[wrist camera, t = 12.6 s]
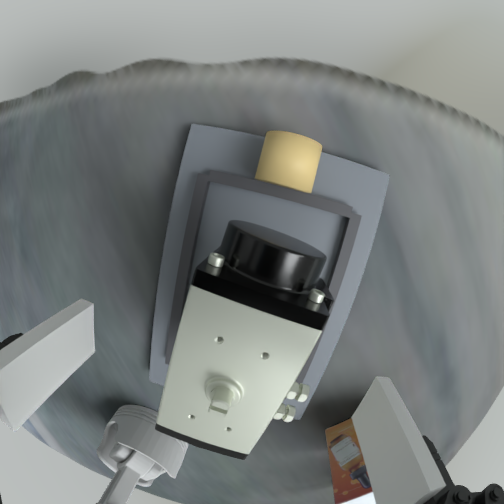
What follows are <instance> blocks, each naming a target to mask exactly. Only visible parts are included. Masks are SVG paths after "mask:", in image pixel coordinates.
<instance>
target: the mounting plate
mask: <svg viewBox="0 0 504 504" xmlns="http://www.w3.org/2000/svg"><path fill="white" fill-rule="evenodd" d="M321 151H322V145H321V144H320V143H318V142H316V141H315V140H313V139H310V138H308V137H305V136H302V135H299V134H295V133H291V132H285V131H268V132H267V133H266V136H265V137H263V136H258V135H254V134H249V133H244V132H239V131H234V130H229V129H223V128H217V127H211V126H205V125H198V124H191V128H190V132H189V135H188V139H187V142H186V146H185V150H184V154H183V158H182V162H181V166H180V170H179V174H178V178H177V183H176V187H175V192H174V196H173V201H172V206H171V211H170V216H169V221H168V226H167V231H166V237H165V243H164V248H163V254H162V261H161V267H160V274H159V281H158V288H157V296H156V304H155V313H154V322H153V333H152V344H151V358H150V374H149V381H151V382H153V383H156V384H159V385H162V386H164V384H165V380H166V376H167V372H168V367H169V363H170V359H171V355H172V351H173V347H174V343H175V340H176V336H177V332H178V328H179V324H180V321H181V317H182V313H183V310H184V306H185V303H186V299H187V296H188V292H189V289H190V285H191V282H192V278H193V275H194V272H195V268H196V267H197V266H198V265H199V264H200V263H201V262H202V261H204V260H205V259H206V258H207V257H208V256H209V255H210V253H213V252H214V251H215V250H216V249H217V248H219V247H220V246H221V243H222V240H223V237H224V234H225V231H226V228H227V225H228V222H229V221H230V220H241V221H246V222H250V223H254V224H257V225H261V226H264V227H267V228H270V229H273V230H276V231H278V232H281V233H284V234H286V235H289V236H291V237H294V238H296V239H298V240H301V241H303V242H305V243H307V244H309V245H311V246H313V247H315V248H316V249H318V250H320V251H321V252H323V253H324V254H325V255H326V257H327V260H326V263H325V265H324V268H323V270H322V272H321V275H320V277H319V278H322V279H323V280H324V282H325V284H326V286H327V287H328V289H329V291H330V293H331V295H332V296H333V298H334V302H333V304H332V306H331V309H330V311H329V314H330V317H329V319H328V321H327V323H326V325H325V327H324V329H323V331H322V333H321V335H320V337H319V339H318V340H317V342H316V344H315V346H314V348H313V350H312V352H311V354H310V356H309V357H308V359H307V361H306V363H305V365H304V367H303V368H302V370H301V372H300V374H299V376H298V377H297V379H296V381H295V382H297V383H299V385H300V383H302V384H306V385H308V386H309V387H310V391H309V395H308V397H307V399H306V400H305V401H304V402H300V401H297V400H296V399H295V398H294V399H287V398H285V399H284V401H283V403H284V404H285V405H286V406H287V404H289V405H293V406H295V407H296V412H295V416H294V418H293V419H296V420H300V419H301V417H302V415H303V413H304V411H305V409H306V407H307V406H308V404H309V402H310V400H311V398H312V396H313V394H314V392H315V390H316V388H317V386H318V384H319V382H320V380H321V378H322V375H323V373H324V371H325V369H326V367H327V365H328V362H329V360H330V358H331V356H332V354H333V351H334V349H335V347H336V344H337V342H338V340H339V337H340V335H341V332H342V330H343V327H344V325H345V322H346V320H347V317H348V315H349V312H350V310H351V307H352V304H353V302H354V299H355V296H356V293H357V290H358V288H359V285H360V282H361V279H362V276H363V273H364V270H365V267H366V264H367V261H368V257H369V254H370V251H371V248H372V244H373V241H374V237H375V234H376V230H377V227H378V223H379V219H380V215H381V212H382V208H383V204H384V199H385V195H386V191H387V186H388V182H389V177H390V175H388V174H386V173H383V172H380V171H378V170H375V169H372V168H370V167H367V166H364V165H361V164H358V163H355V162H352V161H349V160H346V159H343V158H340V157H337V156H334V155H331V154H327V153H324V152H321Z"/></svg>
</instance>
